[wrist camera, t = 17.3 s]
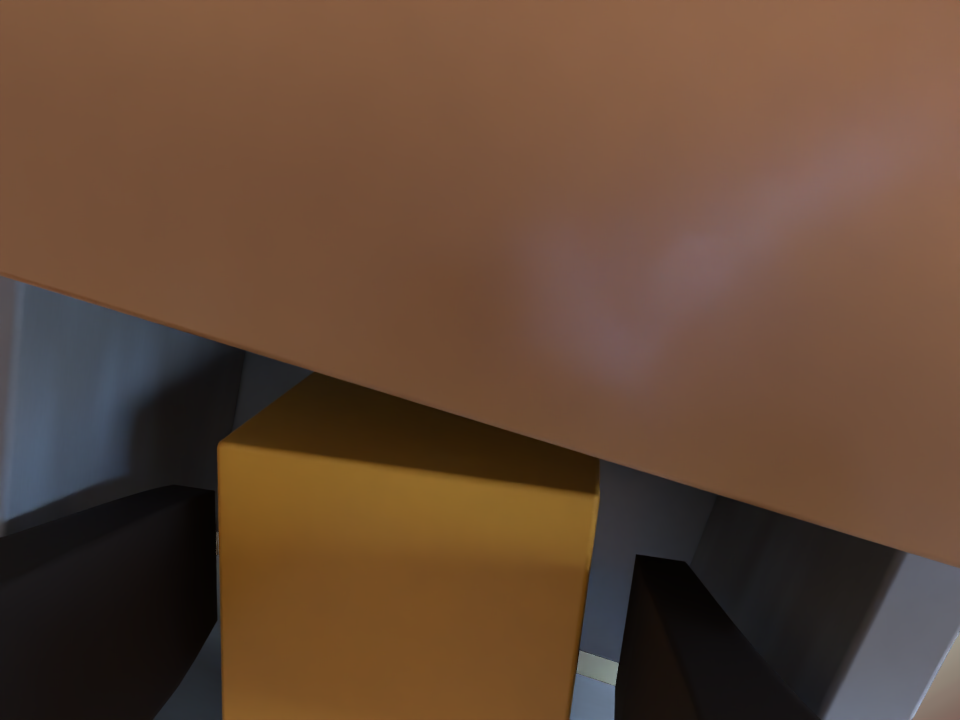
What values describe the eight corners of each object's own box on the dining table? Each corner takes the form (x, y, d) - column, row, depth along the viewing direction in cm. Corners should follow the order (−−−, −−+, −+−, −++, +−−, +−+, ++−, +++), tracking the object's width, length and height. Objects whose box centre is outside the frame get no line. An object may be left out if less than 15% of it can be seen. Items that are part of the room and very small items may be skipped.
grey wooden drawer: (610, 898, 16) (618, 1382, 10) (141, 733, 17) (-134, 1077, 11) (936, 139, 11) (1372, 110, 5) (257, -39, 12) (-119, -258, 6)
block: (569, 612, 13) (555, 821, 9) (335, 574, 14) (220, 754, 10) (600, 379, 12) (600, 496, 8) (342, 348, 13) (214, 442, 8)
